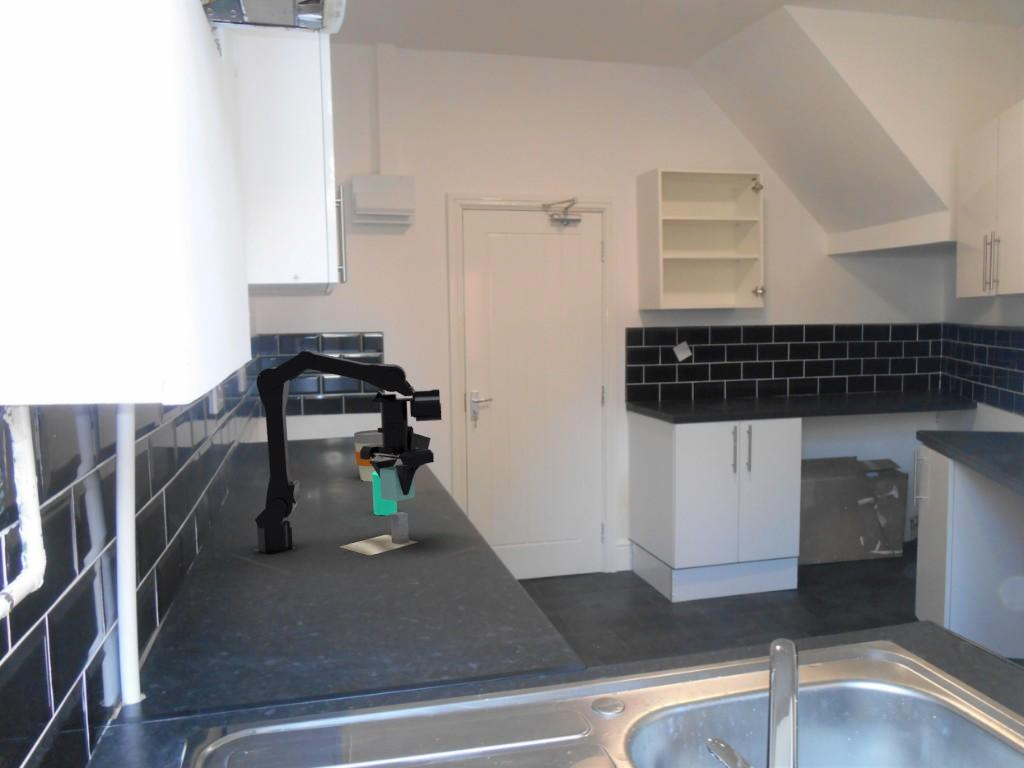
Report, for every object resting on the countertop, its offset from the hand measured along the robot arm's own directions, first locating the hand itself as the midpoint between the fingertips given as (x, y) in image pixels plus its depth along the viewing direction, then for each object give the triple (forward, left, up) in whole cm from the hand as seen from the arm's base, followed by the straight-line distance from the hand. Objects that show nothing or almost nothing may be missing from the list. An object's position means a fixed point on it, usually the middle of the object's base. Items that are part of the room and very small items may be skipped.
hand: (397, 493), depth 177 cm
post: (0, 0, -11) cm, 11 cm away
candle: (+18, +28, -12) cm, 35 cm away
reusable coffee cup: (+47, +70, -12) cm, 85 cm away
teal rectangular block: (0, 0, -1) cm, 1 cm away
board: (-4, +3, -12) cm, 12 cm away
